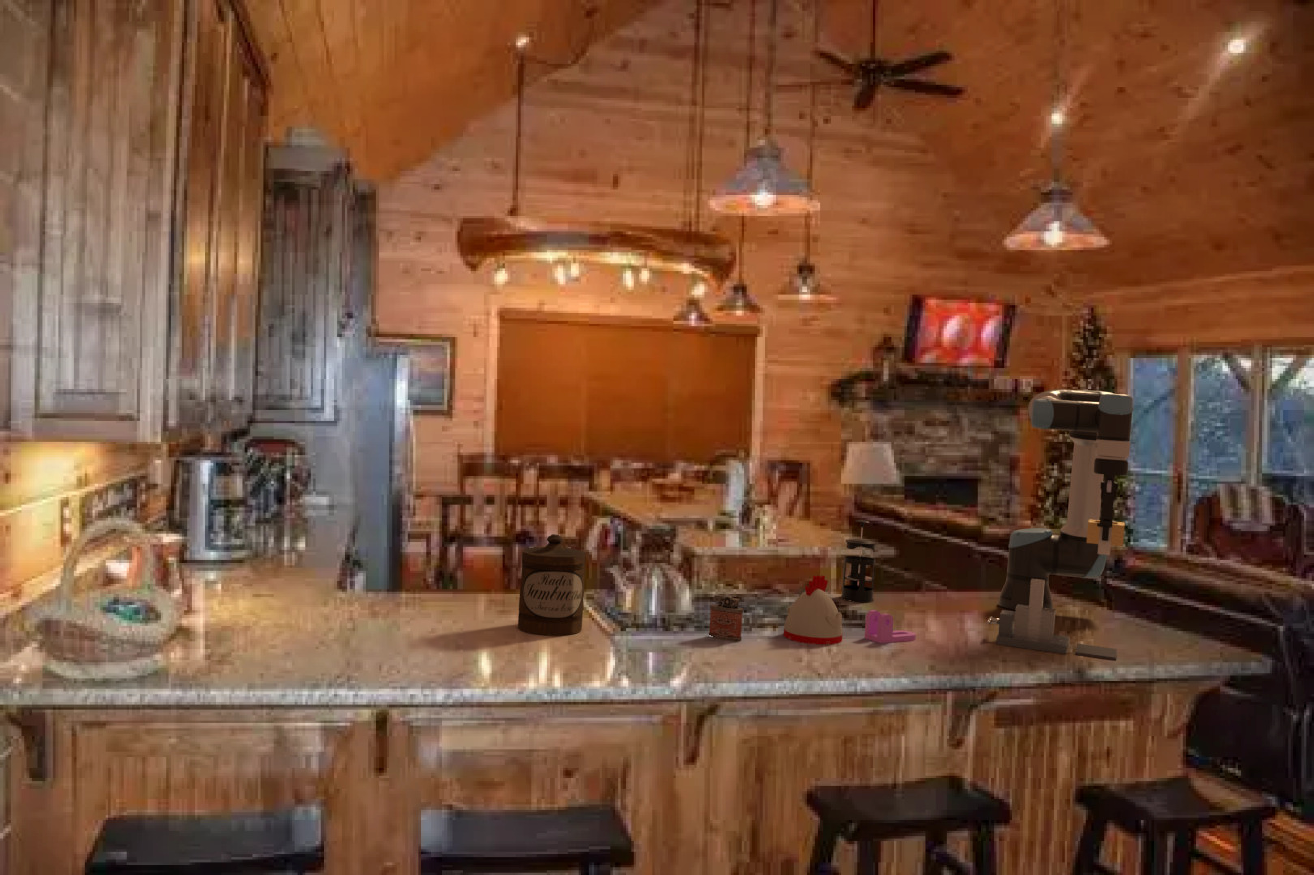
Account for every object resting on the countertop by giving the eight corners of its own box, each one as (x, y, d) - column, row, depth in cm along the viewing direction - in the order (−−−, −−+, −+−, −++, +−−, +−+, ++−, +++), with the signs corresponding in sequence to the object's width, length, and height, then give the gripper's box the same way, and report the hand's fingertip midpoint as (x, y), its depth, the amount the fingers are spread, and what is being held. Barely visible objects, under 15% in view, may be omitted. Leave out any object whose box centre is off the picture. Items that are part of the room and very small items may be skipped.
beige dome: (853, 640, 262) (857, 578, 261) (820, 647, 252) (824, 582, 251) (805, 629, 271) (809, 569, 271) (772, 635, 261) (776, 573, 261)
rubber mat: (1077, 645, 271) (1077, 643, 271) (1116, 651, 268) (1116, 648, 268) (1075, 654, 261) (1075, 652, 261) (1116, 660, 257) (1116, 657, 257)
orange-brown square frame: (1087, 539, 268) (1089, 519, 268) (1122, 543, 265) (1124, 522, 265) (1086, 542, 261) (1088, 522, 261) (1122, 546, 258) (1124, 525, 258)
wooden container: (520, 635, 245) (526, 538, 244) (515, 621, 259) (520, 529, 258) (586, 636, 248) (591, 540, 247) (577, 622, 262) (582, 531, 261)
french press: (877, 603, 312) (883, 523, 311) (845, 601, 312) (850, 521, 311) (867, 595, 324) (873, 518, 323) (836, 594, 324) (841, 517, 323)
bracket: (880, 643, 260) (882, 614, 260) (864, 638, 265) (866, 610, 265) (920, 640, 267) (922, 612, 267) (904, 635, 272) (906, 607, 271)
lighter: (743, 639, 254) (746, 597, 254) (738, 642, 251) (741, 599, 251) (711, 634, 258) (714, 592, 257) (706, 637, 255) (708, 594, 254)
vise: (989, 633, 279) (994, 571, 279) (1068, 644, 272) (1073, 580, 271) (983, 642, 268) (988, 577, 268) (1066, 654, 261) (1071, 587, 260)
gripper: (1095, 455, 273) (1088, 546, 274) (1093, 458, 254) (1086, 555, 255) (1128, 458, 270) (1121, 549, 271) (1128, 460, 251) (1120, 559, 252)
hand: (1104, 552), depth 263 cm, fingers closed on orange-brown square frame, 8 cm apart
